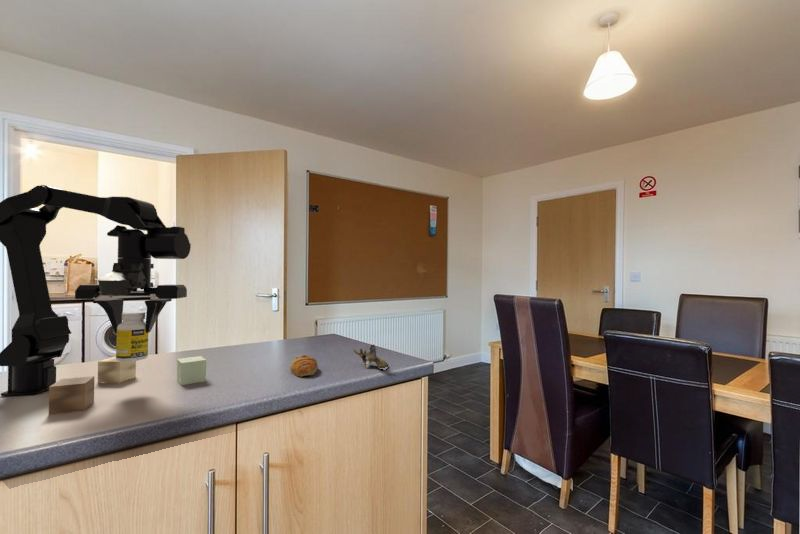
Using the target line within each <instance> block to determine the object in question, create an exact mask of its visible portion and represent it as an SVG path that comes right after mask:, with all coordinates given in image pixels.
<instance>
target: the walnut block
mask: <svg viewBox="0 0 800 534" xmlns="http://www.w3.org/2000/svg"><path fill="white" fill-rule="evenodd" d="M94 402H95V375H94V376H82V377H81V376H80V377H71V378H62V379H59V380H57V381H56V383H54V384H53V385H51V386H50V387H49V389H48V415H49V416H51V415H59V414H60V415H61V414H66V413H74V412H76V411H77V412H85V411H86V410H87V409H88V408H89V407H90V406H91V405H92V404H93V403H94ZM84 410H85V411H84Z"/></svg>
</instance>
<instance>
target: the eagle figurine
mask: <svg viewBox="0 0 800 534" xmlns="http://www.w3.org/2000/svg"><path fill="white" fill-rule="evenodd" d="M368 348H369V352H367V350H366V349H364V352H363V348H360V349H359V351H357V350H356V349H353V352H354V353H355V354H356V355H357V356H359V357H360V358H361V360H362V363H363V364H364V363H366V364H365V366H366V367H367V368H368V367H370V365H371V363H372V362H374V363H375V364H376V365H377V368H378V370H379V369H380V368H385V367H388V366H389V363H387V362H386V360H385V359H383V358H381V357H379V356H377V347H376V346H375V344H374V343H373V344H372V345H369V347H368ZM366 367H365V368H366Z"/></svg>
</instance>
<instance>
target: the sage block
mask: <svg viewBox="0 0 800 534" xmlns="http://www.w3.org/2000/svg"><path fill="white" fill-rule="evenodd" d="M176 361H177V363H176V365H177V368H176V381H177V382H178V383H179V385H180V386H184V385H185V386H186V385H191V384H195V383H196V384H197V383H203V382H206V381H207V359H206V358H205V357H204V356H202V355H199V356H191V357H182V358H177V359H176Z"/></svg>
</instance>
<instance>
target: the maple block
mask: <svg viewBox="0 0 800 534" xmlns="http://www.w3.org/2000/svg"><path fill="white" fill-rule="evenodd" d="M136 373H137V361H130V362H121V361H117V360H116V355H115V356H112V357H108V358H105V359H102V360H99V361H97V383H98V382H100V383H99V384H102V383H101V382H104V383H103V384H121V383H120V382H122V383H124V382H123V381H125V382H126V380H127V381H129V380H128V379H130V380H132V379H134V378H133V377H135V378H136V376H137V374H136ZM131 378H132V379H131ZM105 382H106V383H105Z"/></svg>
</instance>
